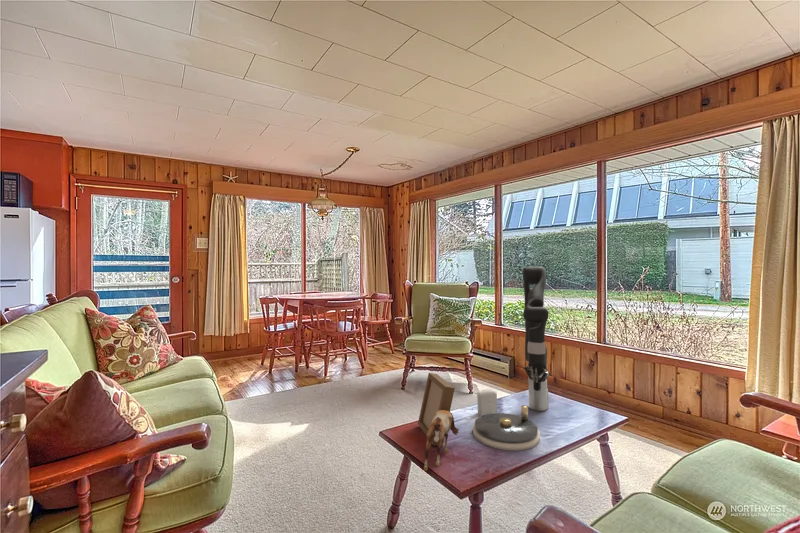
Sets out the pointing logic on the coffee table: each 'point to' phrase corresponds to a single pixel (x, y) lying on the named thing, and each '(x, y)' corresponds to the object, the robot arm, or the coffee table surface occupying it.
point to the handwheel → (507, 427)
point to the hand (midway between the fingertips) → (537, 390)
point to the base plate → (506, 445)
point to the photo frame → (435, 401)
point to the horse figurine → (439, 433)
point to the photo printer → (487, 401)
